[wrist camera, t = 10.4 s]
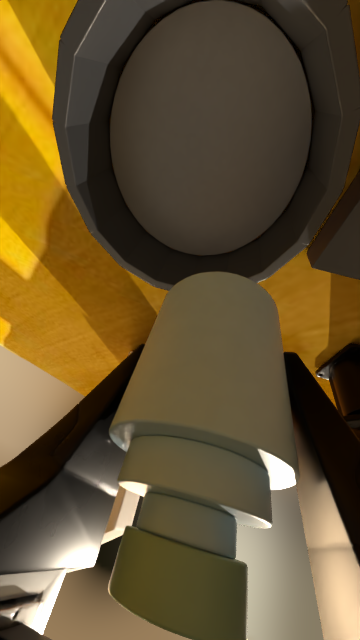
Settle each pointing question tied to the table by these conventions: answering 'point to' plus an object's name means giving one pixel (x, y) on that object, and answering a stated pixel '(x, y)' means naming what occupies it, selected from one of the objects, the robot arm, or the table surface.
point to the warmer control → (340, 237)
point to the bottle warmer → (205, 129)
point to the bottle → (202, 454)
